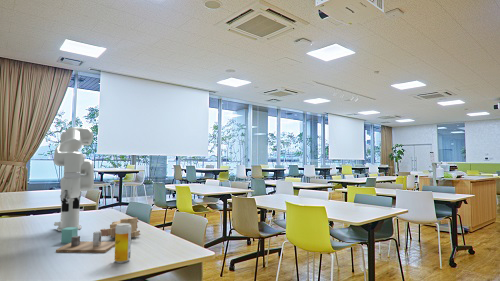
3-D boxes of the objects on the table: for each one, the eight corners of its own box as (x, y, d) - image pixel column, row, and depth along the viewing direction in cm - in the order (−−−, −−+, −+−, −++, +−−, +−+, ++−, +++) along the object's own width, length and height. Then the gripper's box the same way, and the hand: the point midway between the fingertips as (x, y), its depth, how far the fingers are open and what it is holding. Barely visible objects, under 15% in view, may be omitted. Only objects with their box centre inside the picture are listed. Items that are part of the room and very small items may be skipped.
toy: (146, 214, 174) (118, 217, 180) (121, 221, 155) (90, 224, 162) (148, 232, 173) (119, 235, 179) (123, 241, 154) (92, 243, 161)
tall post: (92, 246, 146) (93, 232, 146) (95, 244, 148) (96, 231, 148) (98, 246, 146) (98, 232, 146) (101, 244, 148) (101, 231, 149)
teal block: (61, 242, 155) (61, 229, 155) (67, 240, 160) (67, 227, 160) (71, 243, 155) (72, 229, 155) (77, 240, 160) (77, 227, 160)
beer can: (117, 258, 132) (118, 222, 133) (132, 258, 132) (133, 222, 133) (112, 263, 126) (113, 225, 127) (127, 263, 126) (128, 225, 127)
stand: (55, 252, 140) (56, 240, 140) (72, 243, 154) (73, 233, 154) (105, 252, 140) (105, 240, 140) (117, 244, 154) (118, 233, 154)
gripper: (74, 175, 168) (72, 207, 167) (54, 176, 151) (52, 212, 149) (88, 175, 168) (86, 207, 167) (70, 176, 151) (68, 212, 149)
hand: (70, 210), depth 158 cm, fingers open, 9 cm apart
